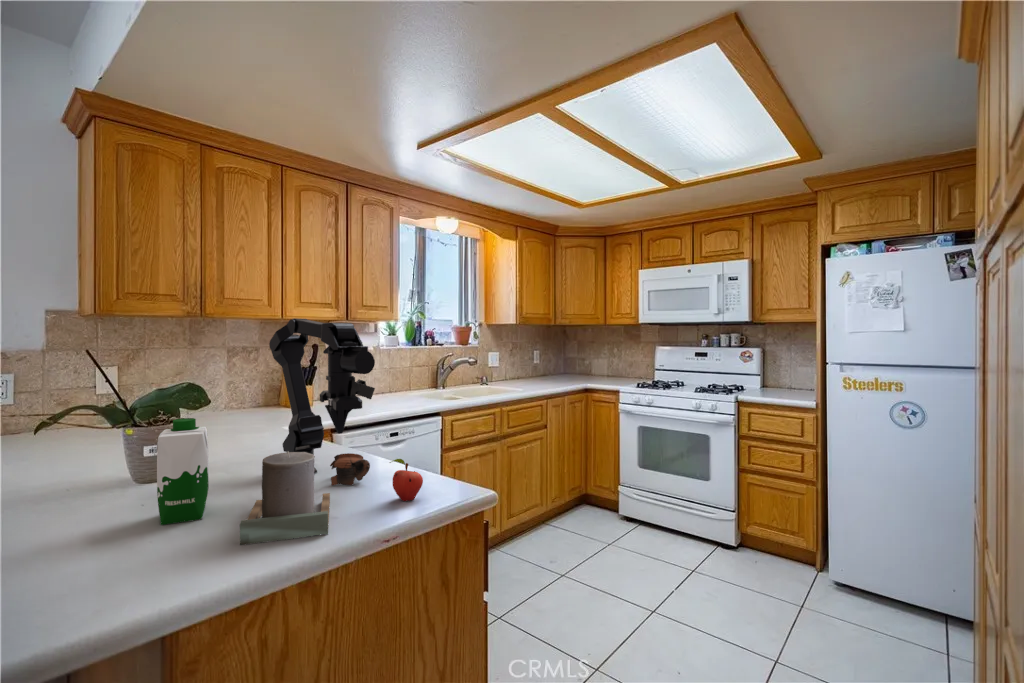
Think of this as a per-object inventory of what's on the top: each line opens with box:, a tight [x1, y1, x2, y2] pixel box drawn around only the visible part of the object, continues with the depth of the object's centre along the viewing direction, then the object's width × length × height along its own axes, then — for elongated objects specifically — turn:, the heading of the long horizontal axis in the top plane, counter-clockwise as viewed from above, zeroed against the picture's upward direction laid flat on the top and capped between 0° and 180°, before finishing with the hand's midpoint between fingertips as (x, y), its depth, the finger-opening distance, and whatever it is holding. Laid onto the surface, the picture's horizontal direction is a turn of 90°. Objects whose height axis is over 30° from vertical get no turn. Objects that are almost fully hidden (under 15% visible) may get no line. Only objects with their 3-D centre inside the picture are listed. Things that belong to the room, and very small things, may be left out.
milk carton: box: [155, 417, 209, 526], centre depth 102 cm, size 9×9×20 cm
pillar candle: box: [261, 451, 316, 518], centre depth 98 cm, size 10×10×15 cm
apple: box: [388, 458, 424, 502], centre depth 113 cm, size 8×7×10 cm
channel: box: [239, 492, 331, 546], centre depth 100 cm, size 19×15×4 cm
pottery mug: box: [329, 452, 371, 486], centre depth 127 cm, size 12×10×8 cm
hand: (340, 433), depth 124 cm, fingers closed
